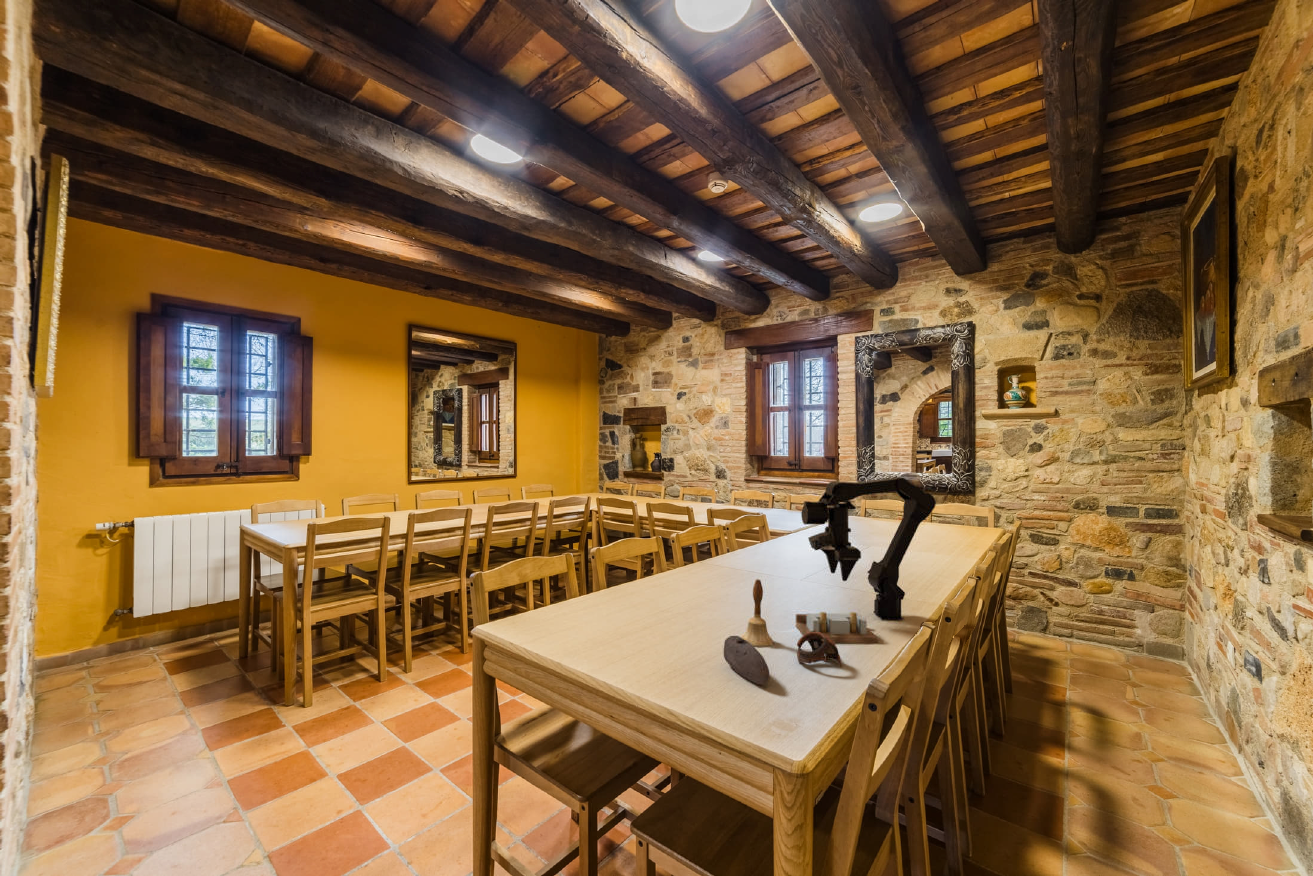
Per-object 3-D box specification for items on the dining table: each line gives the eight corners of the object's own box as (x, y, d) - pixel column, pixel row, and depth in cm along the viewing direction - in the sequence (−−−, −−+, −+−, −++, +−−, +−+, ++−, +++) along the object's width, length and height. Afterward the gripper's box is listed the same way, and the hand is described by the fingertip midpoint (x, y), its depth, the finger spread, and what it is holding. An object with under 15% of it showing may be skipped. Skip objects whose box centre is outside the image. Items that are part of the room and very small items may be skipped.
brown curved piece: (850, 675, 120) (835, 646, 118) (811, 690, 122) (796, 662, 120) (834, 642, 132) (821, 615, 130) (799, 656, 133) (785, 630, 131)
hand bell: (776, 638, 141) (776, 577, 141) (769, 649, 133) (769, 585, 133) (745, 633, 144) (745, 574, 145) (736, 644, 137) (737, 581, 137)
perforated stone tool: (777, 689, 112) (777, 656, 112) (756, 693, 110) (756, 659, 110) (741, 662, 126) (741, 632, 126) (721, 665, 124) (721, 635, 124)
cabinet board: (859, 626, 150) (859, 603, 150) (877, 642, 138) (877, 617, 138) (795, 626, 150) (795, 603, 150) (808, 642, 138) (808, 617, 138)
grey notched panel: (857, 626, 146) (857, 613, 146) (866, 634, 140) (866, 620, 140) (806, 626, 146) (806, 613, 146) (813, 634, 140) (813, 620, 140)
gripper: (801, 519, 168) (801, 569, 168) (822, 529, 149) (822, 585, 149) (836, 519, 168) (837, 569, 168) (861, 529, 149) (861, 585, 149)
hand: (838, 576), depth 158 cm, fingers open, 9 cm apart
